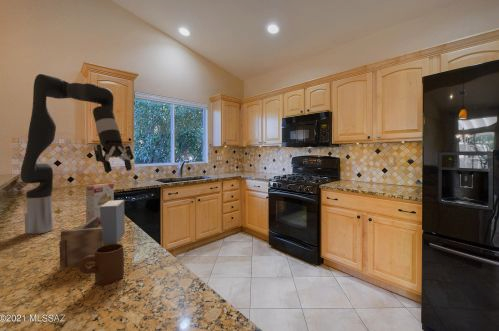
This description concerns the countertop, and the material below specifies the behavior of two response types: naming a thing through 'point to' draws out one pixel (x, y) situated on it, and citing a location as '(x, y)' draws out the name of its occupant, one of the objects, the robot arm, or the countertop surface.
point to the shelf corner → (80, 243)
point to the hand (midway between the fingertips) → (119, 170)
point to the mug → (105, 264)
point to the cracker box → (97, 199)
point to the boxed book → (112, 221)
